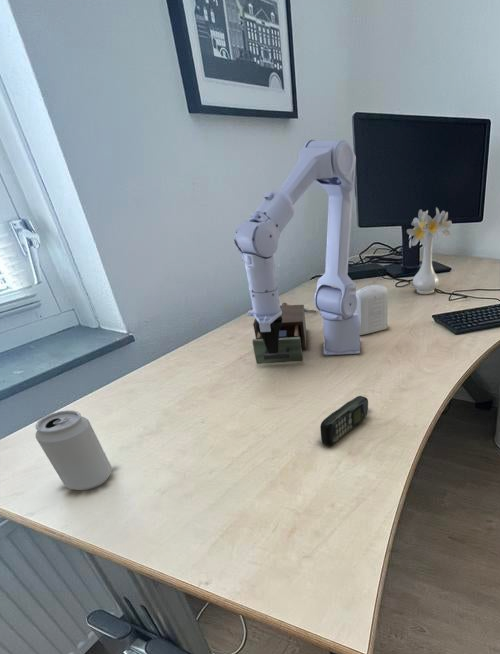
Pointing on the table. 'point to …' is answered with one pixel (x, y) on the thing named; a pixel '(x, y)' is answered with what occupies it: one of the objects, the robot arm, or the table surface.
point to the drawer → (280, 347)
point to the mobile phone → (343, 420)
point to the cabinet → (293, 320)
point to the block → (283, 334)
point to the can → (73, 449)
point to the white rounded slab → (372, 308)
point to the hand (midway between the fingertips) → (273, 352)
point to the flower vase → (428, 247)
